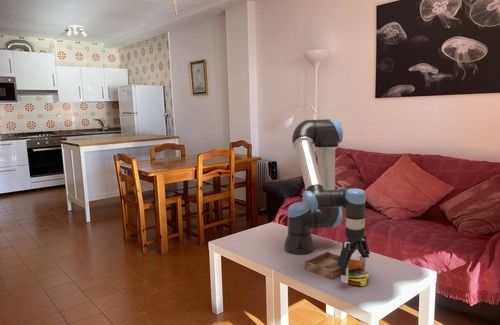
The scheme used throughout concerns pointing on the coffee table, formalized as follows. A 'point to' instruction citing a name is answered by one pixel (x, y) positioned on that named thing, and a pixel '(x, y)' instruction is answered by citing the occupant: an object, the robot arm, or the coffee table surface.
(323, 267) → the crate
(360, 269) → the cheeseburger
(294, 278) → the coffee table surface
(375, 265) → the coffee table surface
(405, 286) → the coffee table surface
